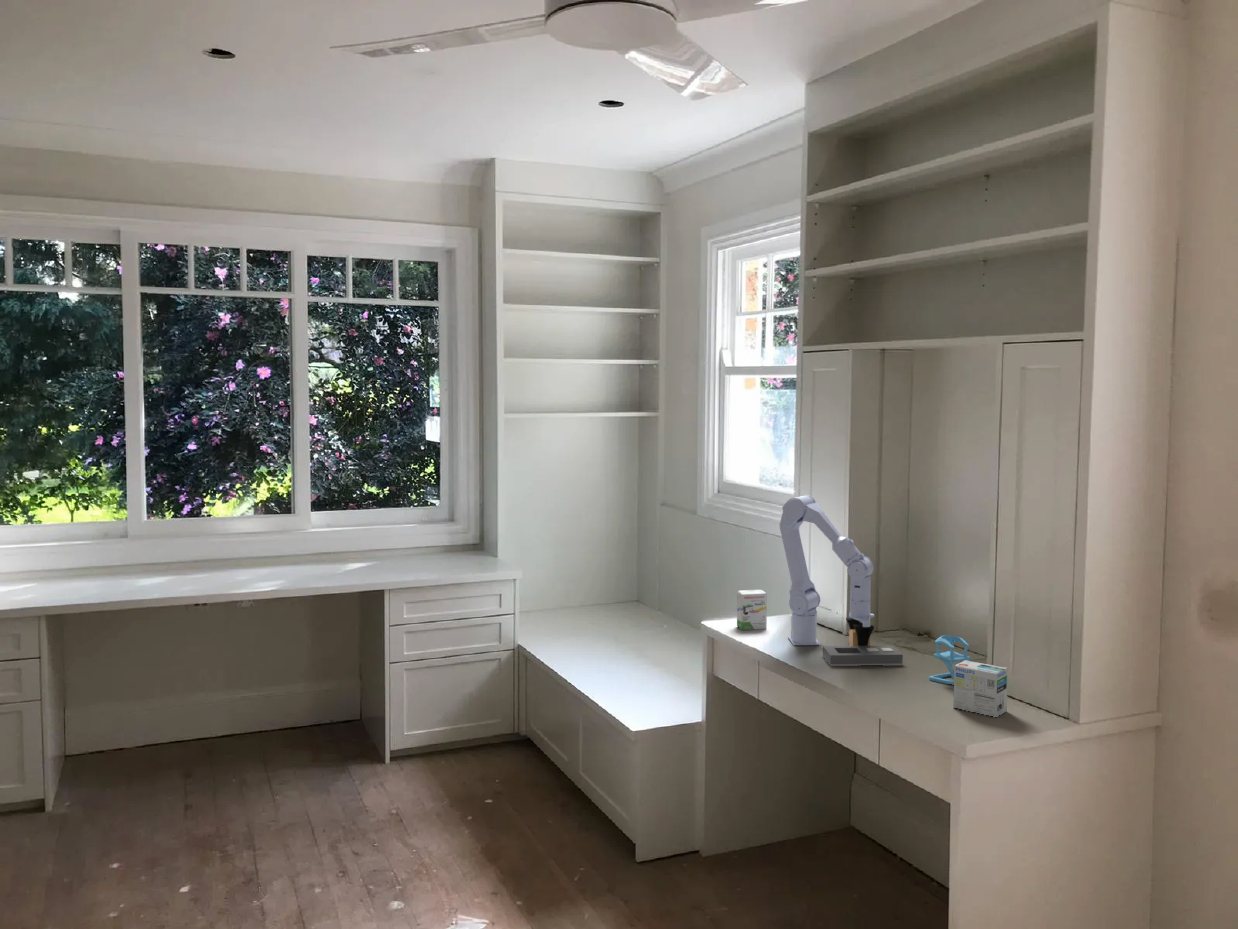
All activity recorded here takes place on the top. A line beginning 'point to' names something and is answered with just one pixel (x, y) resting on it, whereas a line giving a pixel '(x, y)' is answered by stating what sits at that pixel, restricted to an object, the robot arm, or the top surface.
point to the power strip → (862, 655)
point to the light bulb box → (980, 688)
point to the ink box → (751, 609)
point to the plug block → (854, 638)
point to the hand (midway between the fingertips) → (859, 645)
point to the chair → (949, 657)
